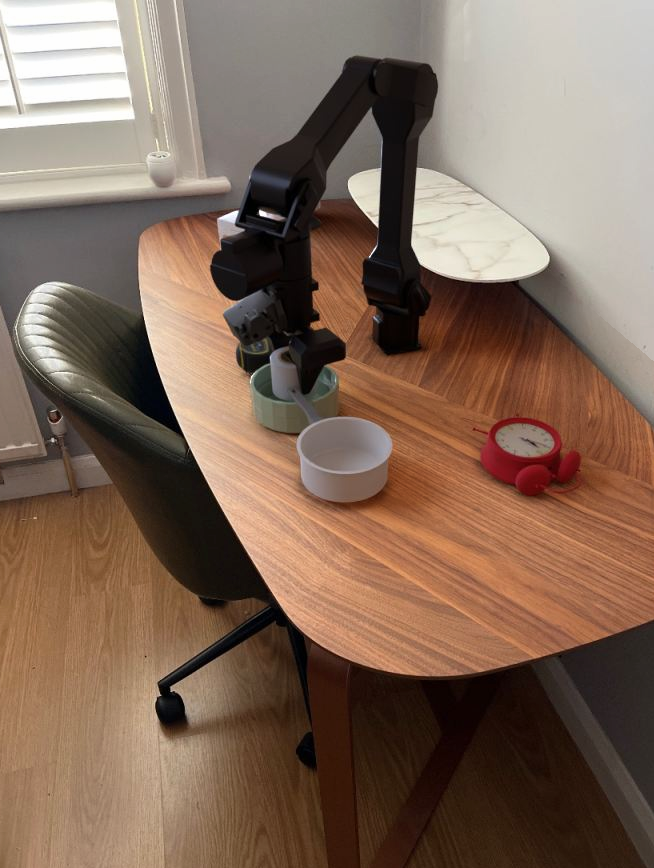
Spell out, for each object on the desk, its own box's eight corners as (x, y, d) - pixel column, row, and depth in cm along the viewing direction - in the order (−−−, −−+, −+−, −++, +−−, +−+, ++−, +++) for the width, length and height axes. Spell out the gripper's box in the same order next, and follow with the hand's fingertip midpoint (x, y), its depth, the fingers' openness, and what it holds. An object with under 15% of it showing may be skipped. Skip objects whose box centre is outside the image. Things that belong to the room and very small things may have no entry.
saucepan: (329, 410, 104) (329, 376, 100) (408, 491, 92) (411, 454, 88) (254, 434, 100) (250, 398, 96) (326, 522, 87) (325, 485, 83)
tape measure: (286, 375, 112) (285, 352, 110) (241, 381, 111) (239, 358, 108) (276, 353, 117) (275, 331, 115) (233, 359, 116) (231, 337, 113)
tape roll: (310, 374, 105) (308, 342, 102) (323, 396, 101) (322, 363, 98) (267, 382, 104) (264, 349, 100) (279, 404, 99) (277, 371, 96)
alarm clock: (524, 405, 100) (607, 439, 88) (524, 447, 103) (604, 486, 91) (461, 425, 96) (539, 464, 84) (463, 469, 99) (538, 512, 87)
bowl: (323, 383, 111) (322, 353, 107) (350, 426, 102) (350, 394, 99) (244, 397, 107) (241, 366, 104) (265, 443, 99) (262, 411, 96)
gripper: (198, 258, 95) (213, 367, 105) (260, 316, 82) (270, 433, 93) (278, 242, 99) (285, 348, 109) (347, 295, 87) (348, 409, 97)
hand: (294, 382), depth 102 cm, fingers closed on tape roll, 6 cm apart
